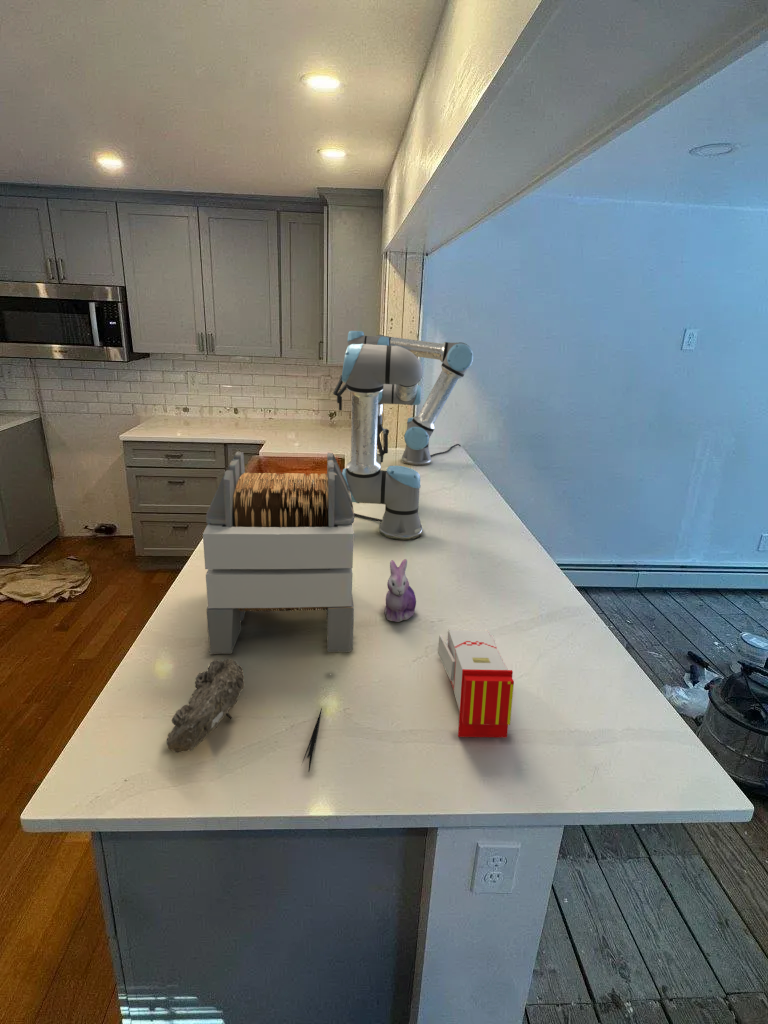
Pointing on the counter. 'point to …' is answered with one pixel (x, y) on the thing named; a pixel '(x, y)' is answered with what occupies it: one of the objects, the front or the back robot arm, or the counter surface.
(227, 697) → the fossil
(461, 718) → the toy
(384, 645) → the counter surface
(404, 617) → the figurine
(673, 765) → the counter surface
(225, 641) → the record crate
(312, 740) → the feather
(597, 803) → the counter surface
